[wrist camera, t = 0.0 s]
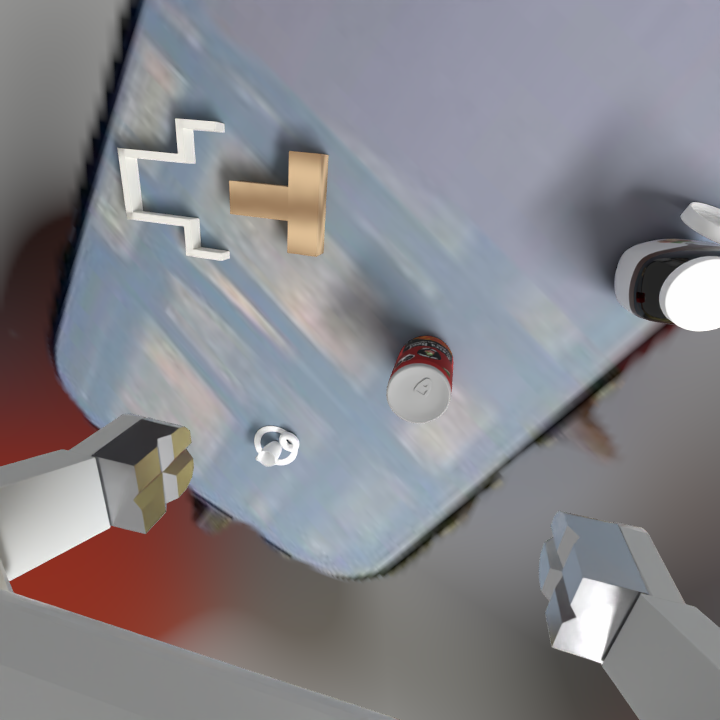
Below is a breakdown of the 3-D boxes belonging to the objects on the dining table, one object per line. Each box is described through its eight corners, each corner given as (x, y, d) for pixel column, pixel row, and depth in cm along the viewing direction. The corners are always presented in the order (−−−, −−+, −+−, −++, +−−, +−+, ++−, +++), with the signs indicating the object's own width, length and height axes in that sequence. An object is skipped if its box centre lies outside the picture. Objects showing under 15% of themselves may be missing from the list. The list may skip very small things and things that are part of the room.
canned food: (460, 342, 57) (459, 376, 47) (443, 391, 60) (439, 432, 51) (407, 326, 58) (395, 356, 48) (393, 376, 61) (379, 413, 52)
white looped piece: (300, 426, 69) (291, 440, 66) (305, 466, 73) (296, 481, 69) (252, 422, 71) (241, 435, 68) (258, 460, 75) (248, 475, 71)
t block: (239, 147, 54) (227, 145, 51) (328, 155, 52) (320, 153, 49) (242, 242, 59) (231, 245, 56) (323, 253, 57) (316, 256, 54)
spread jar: (603, 305, 51) (639, 337, 41) (615, 207, 47) (658, 215, 36) (719, 300, 48) (789, 334, 38) (743, 196, 44) (829, 201, 33)
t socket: (125, 115, 56) (112, 113, 54) (224, 123, 53) (215, 121, 51) (141, 245, 63) (131, 247, 61) (229, 258, 60) (221, 260, 58)
